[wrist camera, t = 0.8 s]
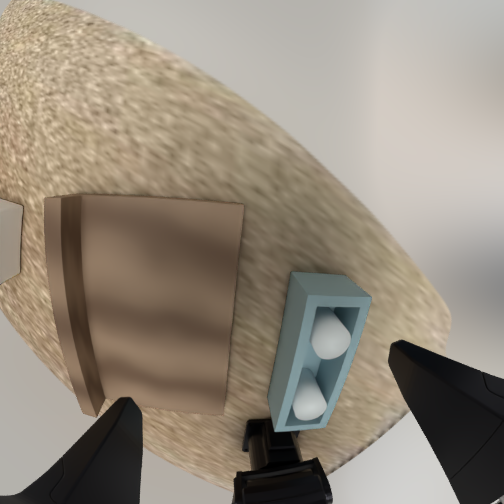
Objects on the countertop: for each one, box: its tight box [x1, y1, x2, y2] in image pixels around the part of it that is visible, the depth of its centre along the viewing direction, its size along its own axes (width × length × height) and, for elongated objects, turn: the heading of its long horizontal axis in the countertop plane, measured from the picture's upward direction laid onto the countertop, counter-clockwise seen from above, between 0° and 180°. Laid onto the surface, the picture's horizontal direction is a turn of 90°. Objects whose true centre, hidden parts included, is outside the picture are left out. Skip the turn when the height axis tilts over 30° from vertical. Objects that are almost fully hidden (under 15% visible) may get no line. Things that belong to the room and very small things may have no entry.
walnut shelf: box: [44, 194, 244, 417], centre depth 20 cm, size 20×14×5 cm
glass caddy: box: [267, 271, 372, 432], centre depth 21 cm, size 14×5×6 cm, turn 173°
